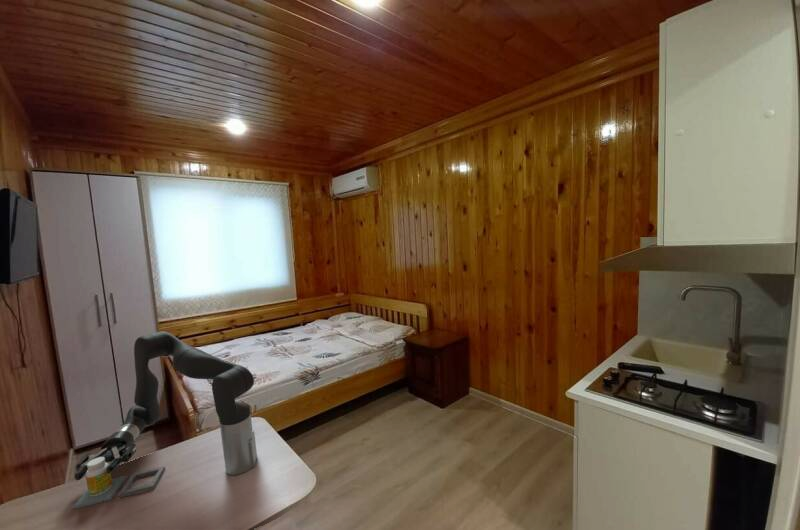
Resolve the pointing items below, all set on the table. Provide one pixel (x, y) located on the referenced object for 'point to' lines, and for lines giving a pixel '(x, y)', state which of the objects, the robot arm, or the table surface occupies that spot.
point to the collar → (128, 491)
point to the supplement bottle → (98, 477)
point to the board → (106, 496)
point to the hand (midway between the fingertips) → (93, 474)
